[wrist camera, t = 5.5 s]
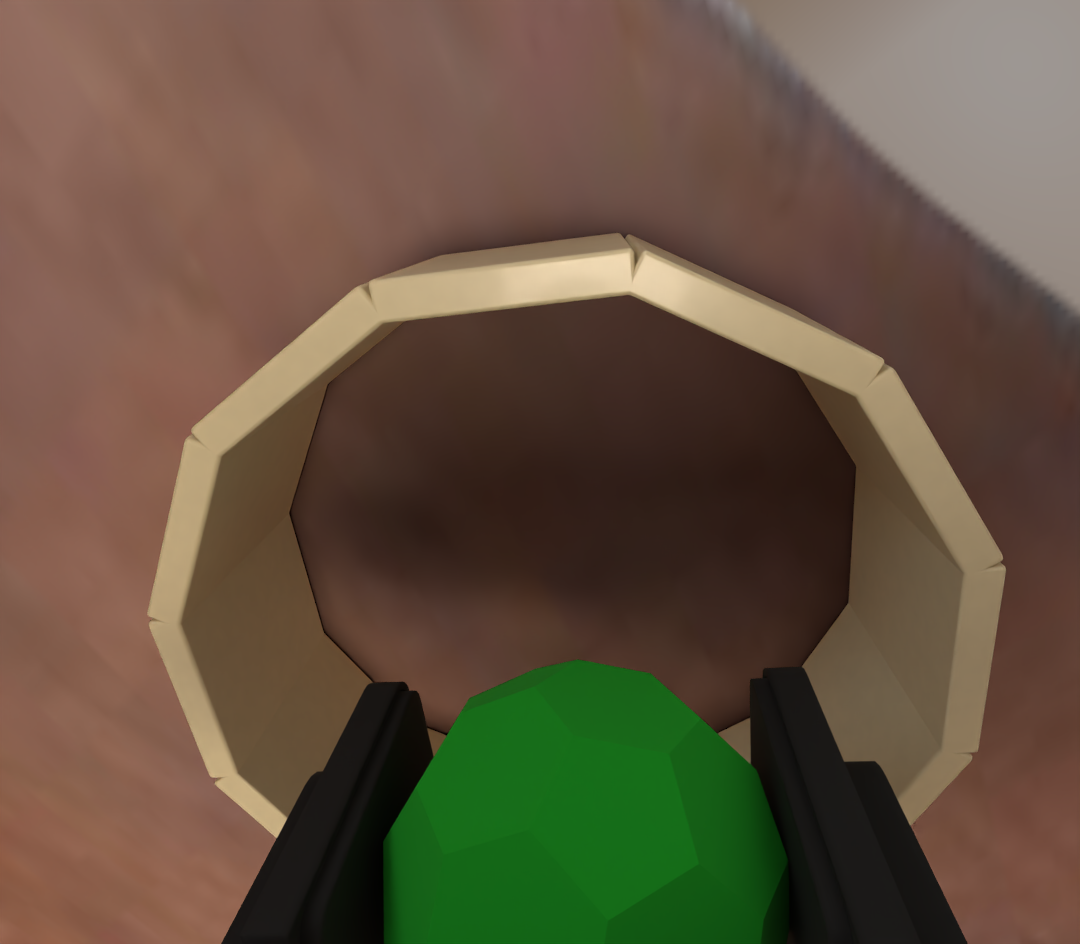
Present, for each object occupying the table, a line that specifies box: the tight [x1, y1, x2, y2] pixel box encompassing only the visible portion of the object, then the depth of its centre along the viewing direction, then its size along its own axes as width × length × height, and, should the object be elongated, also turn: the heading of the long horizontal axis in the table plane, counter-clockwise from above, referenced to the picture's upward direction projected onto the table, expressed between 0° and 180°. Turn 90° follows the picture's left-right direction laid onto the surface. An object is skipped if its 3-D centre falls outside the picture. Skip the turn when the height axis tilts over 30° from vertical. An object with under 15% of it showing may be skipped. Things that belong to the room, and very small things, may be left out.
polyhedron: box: [383, 660, 789, 944], centre depth 9 cm, size 5×5×5 cm
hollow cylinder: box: [147, 233, 1006, 838], centre depth 13 cm, size 14×14×4 cm
